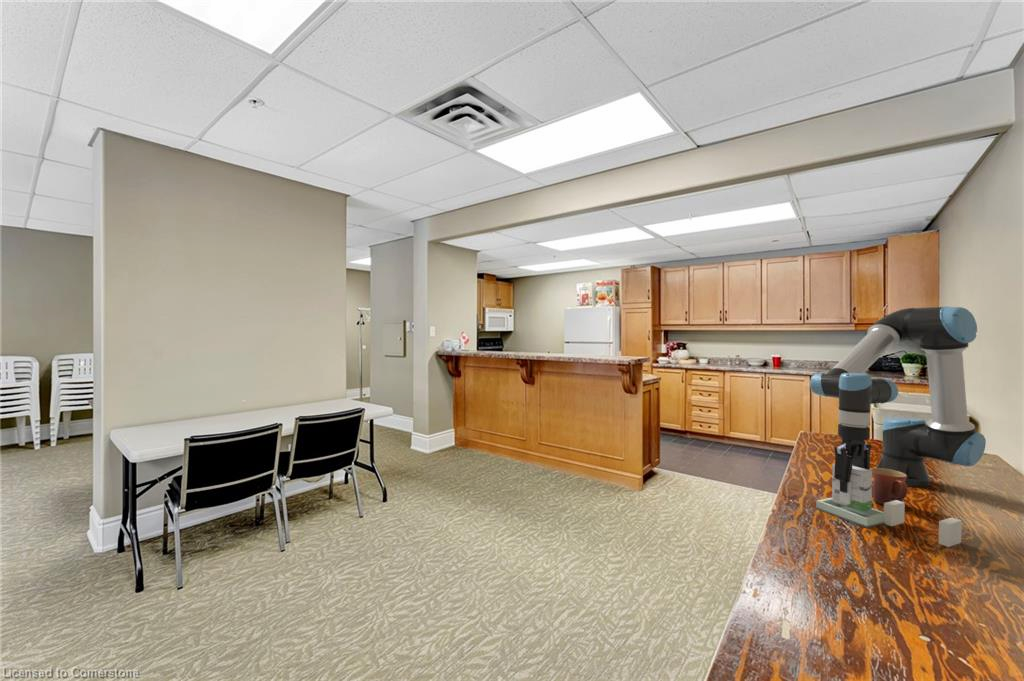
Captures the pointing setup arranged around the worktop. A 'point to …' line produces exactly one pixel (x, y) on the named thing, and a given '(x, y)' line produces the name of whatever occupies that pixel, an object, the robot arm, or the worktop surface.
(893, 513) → the white block pair
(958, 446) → the robot arm
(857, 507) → the ink box
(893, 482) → the mug
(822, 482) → the worktop surface
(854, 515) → the pale green tray
